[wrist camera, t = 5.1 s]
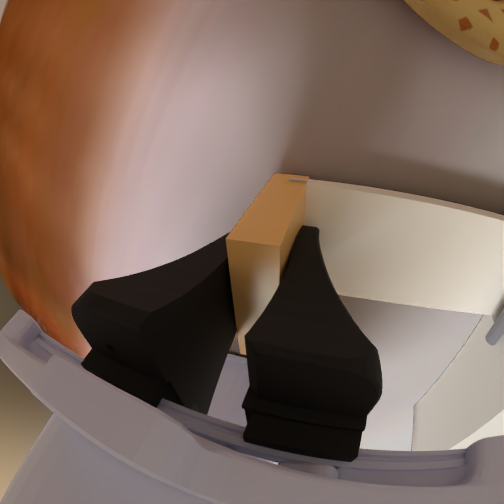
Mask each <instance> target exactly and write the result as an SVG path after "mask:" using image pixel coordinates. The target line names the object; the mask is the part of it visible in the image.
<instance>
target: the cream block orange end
mask: <svg viewBox="0 0 504 504" xmlns="http://www.w3.org/2000/svg"><path fill="white" fill-rule="evenodd" d="M302 225H305V226H313V227H317V228H318V229H319V230H320V232H319V242H320V248H321V252H322V256H323V260H324V263H325V266H326V269H327V271H328V274H329V277H330V279H331V281H332V284H333V286H334V288H335V290H336V292H337V294H338V295H343V296H349V297H356V298H362V299H369V300H376V301H383V302H390V303H397V304H404V305H411V306H419V307H426V308H434V309H442V310H450V311H459V312H467V313H476V314H485V315H494V316H499V314H500V313H501V311H502V310H503V308H504V215H500V214H497V213H493V212H489V211H486V210H482V209H478V208H474V207H470V206H466V205H461V204H457V203H453V202H448V201H444V200H439V199H434V198H429V197H424V196H419V195H414V194H409V193H403V192H398V191H392V190H386V189H380V188H373V187H367V186H360V185H353V184H346V183H338V182H330V181H322V180H313V179H309V176H300V175H290V174H278V173H274V175H273V176H272V177H271V179H270V180H269V181H268V182H267V184H266V185H265V186H264V188H263V189H262V190H261V192H260V193H259V194H258V196H257V197H256V198H255V200H254V201H253V202H252V204H251V205H250V206H249V208H248V209H247V210H246V212H245V213H244V214H243V216H242V217H241V218H240V220H239V221H238V223H237V224H236V225H235V227H234V228H233V229H232V231H231V232H230V233H229V235H228V236H227V238H226V246H227V254H228V263H229V271H230V280H231V288H232V296H233V304H234V312H235V319H236V327H237V334H238V342H239V349H240V354H244V355H246V348H245V338H244V336H245V334H246V333H247V332H248V331H249V330H250V329H251V327H252V326H253V325H254V323H255V322H256V321H257V319H258V318H259V317H260V315H261V314H262V313H263V311H264V310H265V308H266V306H267V305H268V303H269V302H270V300H271V299H272V297H273V295H274V293H275V292H276V290H277V288H278V286H279V284H280V282H281V280H282V278H283V276H284V274H285V272H286V270H287V268H288V265H289V262H290V258H291V254H292V250H293V245H294V241H295V238H296V236H297V234H298V232H299V230H300V228H301V227H302Z"/></svg>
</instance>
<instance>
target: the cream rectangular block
mask: <svg viewBox="0 0 504 504" xmlns="http://www.w3.org/2000/svg"><path fill="white" fill-rule="evenodd" d="M500 435H504V308H503V310H502V311H501V313H500V314H499V316H494V315H485V314H484V315H483V317H482V318H481V320H480V322H479V323H478V325H477V326H476V328H475V330H474V331H473V333H472V334H471V336H470V337H469V339H468V340H467V341H466V343H465V344H464V346H463V347H462V349H461V350H460V351H459V353H458V354H457V355H456V357H455V358H454V360H453V361H452V362H451V363H450V365H449V366H448V367H447V369H446V370H445V371H444V372H443V374H442V375H441V376H440V377H439V379H438V380H437V381H436V382H435V383H434V385H433V386H432V387H431V388H430V389H429V390H428V391H427V393H426V394H425V395H424V396H423V397H422V398H421V399H420V400H419V401H418V403H417V404H416V405H415V406H414V414H413V433H412V446H411V451H438V450H454V449H465V448H467V447H468V446H470V445H471V444H472V443H474V442H476V441H478V440H480V439H483V438H487V437H494V436H500Z"/></svg>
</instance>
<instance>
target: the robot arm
mask: <svg viewBox="0 0 504 504" xmlns="http://www.w3.org/2000/svg"><path fill="white" fill-rule="evenodd" d="M319 232H320V230H319V229H318V228H317V227H313V226H305V225H302V227H301V228H300V230H299V232H298V234H297V236H296V238H295V241H294V245H293V250H292V254H291V258H290V262H289V265H288V268H287V270H286V272H285V274H284V276H283V278H282V280H281V282H280V284H279V286H278V288H277V290H276V292H275V293H274V295H273V297H272V299H271V300H270V302H269V303H268V305H267V306H266V308H265V310H264V311H263V313H262V314H261V315H260V317H259V318H258V319H257V321H256V322H255V323H254V325H253V326H252V327H251V329H250V330H249V331H248V332H247V333H246V334H245V336H244V338H245V348H246V357H247V358H244V357H240V356H236V355H233V354H229V353H228V352H229V349H230V347H231V344H232V342H233V339H234V336H235V334H236V331H237V327H236V319H235V312H234V304H233V296H232V288H231V280H230V271H229V263H228V254H227V246H226V238H227V236H228V235H229V233H230V232H229V233H227V234H226V235H224V236H222V237H221V238H219V239H217V240H216V241H214V242H212V243H210V244H208V245H207V246H205V247H203V248H201V249H199V250H197V251H195V252H193V253H191V254H189V255H187V256H185V257H182V258H180V259H178V260H175V261H173V262H170V263H167V264H165V265H162V266H159V267H156V268H153V269H150V270H147V271H144V272H140V273H137V274H133V275H129V276H124V277H120V278H114V279H109V280H103V281H97V282H93V283H92V284H91V285H90V286H89V288H88V289H87V290H86V291H85V292H84V293H83V294H82V295H81V296H80V297H79V298H78V300H77V301H76V302H75V303H74V304H73V305H72V310H71V311H72V316H73V319H74V321H75V323H76V325H77V326H78V328H79V329H80V331H81V333H82V334H83V336H84V337H85V339H86V340H87V342H88V343H89V345H90V346H91V347H92V349H91V351H90V352H89V353H88V355H87V356H86V357H85V359H84V358H82V357H81V356H79V355H77V354H76V353H74V352H72V351H71V350H69V349H67V348H66V347H64V346H63V345H61V344H60V343H58V342H57V341H55V340H54V339H52V338H51V337H49V336H48V335H46V334H45V333H43V332H42V331H41V329H40V327H39V326H38V324H37V323H36V321H35V320H34V319H33V318H32V317H31V316H30V315H28V314H27V313H25V312H24V311H23V310H19V311H18V312H17V313H16V314H15V315H14V316H13V317H12V319H11V320H10V321H9V322H8V323H7V324H6V325H5V326H4V328H3V329H2V330H1V331H0V359H1V360H2V361H3V362H4V363H5V364H6V365H7V366H8V367H9V369H11V371H12V372H13V373H14V374H15V375H16V376H17V377H18V378H19V379H20V380H21V381H22V382H23V383H24V384H25V385H26V386H27V387H28V388H29V389H30V391H31V392H32V393H33V394H34V395H35V396H36V397H37V398H38V399H39V400H40V401H41V402H42V403H43V404H44V405H46V406H47V407H48V408H49V409H50V410H51V411H52V412H54V414H53V415H52V417H51V418H50V420H49V421H48V423H47V424H46V426H45V427H44V429H43V430H42V432H41V434H40V435H39V437H38V438H37V440H36V441H35V443H34V445H33V446H32V448H31V449H30V451H29V453H28V454H27V456H26V458H25V459H24V461H23V463H22V464H21V466H20V468H19V470H18V471H17V473H16V475H15V476H14V478H13V480H12V482H11V483H10V485H9V487H8V489H7V491H6V493H5V494H4V496H3V498H2V500H1V502H0V504H504V435H500V436H494V437H487V438H483V439H480V440H478V441H476V442H474V443H472V444H471V445H470V446H468V447H467V448H465V449H454V450H438V451H387V450H371V449H359V447H360V442H361V436H362V431H364V430H365V427H366V420H367V415H368V414H369V413H370V411H371V410H372V409H373V407H374V406H375V405H376V404H377V402H378V401H379V399H380V397H381V394H382V372H381V365H380V360H379V355H378V351H377V349H376V347H375V346H374V345H373V344H372V343H371V342H370V341H369V339H368V338H367V337H366V336H365V335H364V334H363V333H362V331H361V330H360V329H359V327H358V326H357V324H356V323H355V322H354V320H353V319H352V317H351V316H350V314H349V313H348V311H347V309H346V308H345V306H344V305H343V303H342V301H341V300H340V298H339V296H338V294H337V292H336V290H335V288H334V286H333V284H332V281H331V279H330V277H329V274H328V271H327V269H326V266H325V263H324V260H323V256H322V252H321V248H320V242H319ZM273 462H278V465H276V464H273Z"/></svg>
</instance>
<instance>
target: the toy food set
mask: <svg viewBox="0 0 504 504" xmlns="http://www.w3.org/2000/svg"><path fill="white" fill-rule="evenodd" d="M404 1H405V2H406V3H407V4H408V5H409V6H410V7H411V8H412V9H413V10H414V11H415V12H416V13H417V14H418V15H419V16H420V17H422V18H423V19H424V20H425V21H426V22H427V23H428V24H430V25H431V26H432V27H433V28H435V29H436V30H437V31H439V32H440V33H441V34H442V35H444V36H445V37H446V38H448V39H449V40H451V41H452V42H454V43H455V44H457V45H458V46H460V47H461V48H463V49H464V50H466V51H468V52H470V53H472V54H473V55H475V56H477V57H479V58H481V59H483V60H486V61H489V62H492V63H495V64H500V65H504V0H404Z"/></svg>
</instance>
